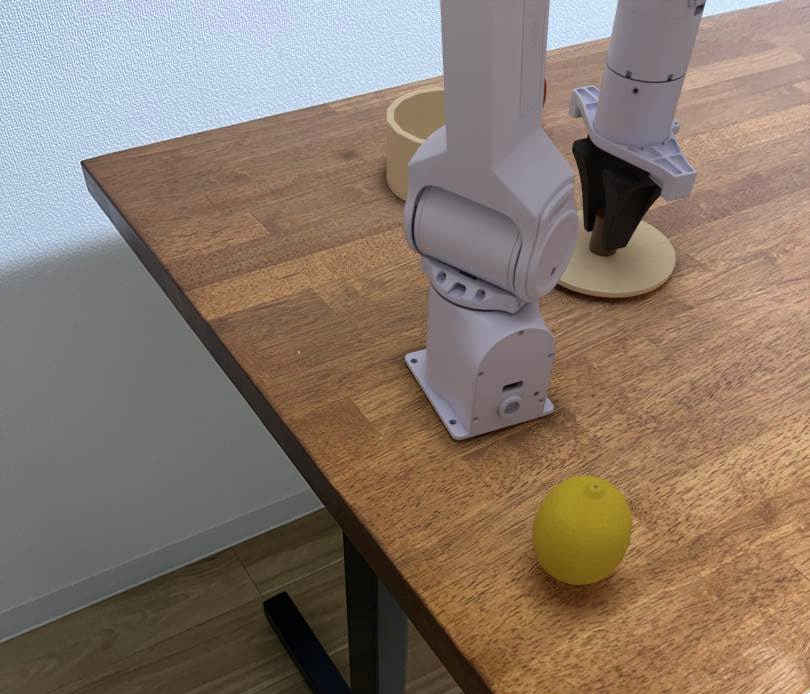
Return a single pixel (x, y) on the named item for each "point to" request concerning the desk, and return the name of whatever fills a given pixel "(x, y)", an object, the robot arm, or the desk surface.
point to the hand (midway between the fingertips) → (605, 237)
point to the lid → (618, 262)
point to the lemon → (582, 530)
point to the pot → (410, 132)
